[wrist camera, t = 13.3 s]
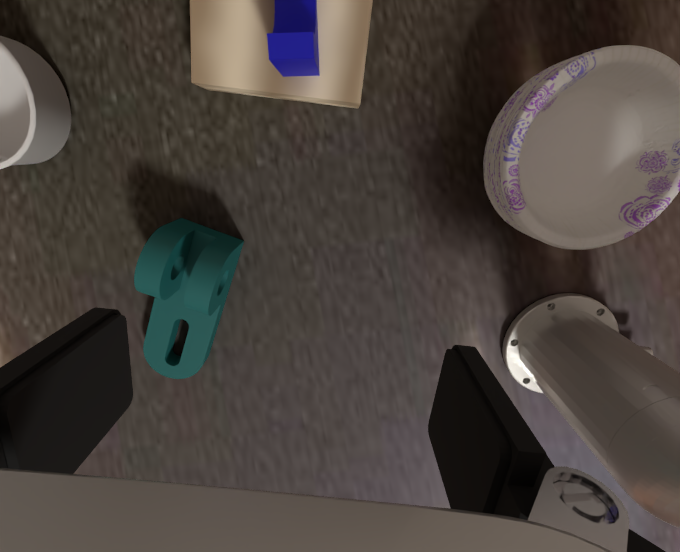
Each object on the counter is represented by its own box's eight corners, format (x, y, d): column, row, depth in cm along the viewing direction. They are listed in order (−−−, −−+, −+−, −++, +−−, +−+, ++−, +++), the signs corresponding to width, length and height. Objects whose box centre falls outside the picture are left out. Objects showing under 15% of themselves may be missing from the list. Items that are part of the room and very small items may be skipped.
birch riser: (380, -80, 29) (386, -114, 26) (358, 108, 34) (360, 103, 30) (207, -104, 29) (186, -142, 25) (208, 90, 34) (191, 82, 30)
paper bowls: (609, 230, 38) (674, 251, 30) (462, 232, 38) (492, 252, 30) (648, 65, 33) (739, 40, 25) (479, 67, 33) (520, 43, 25)
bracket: (182, 217, 38) (142, 234, 30) (244, 240, 39) (221, 262, 31) (148, 357, 43) (108, 400, 36) (203, 374, 44) (174, 420, 37)
